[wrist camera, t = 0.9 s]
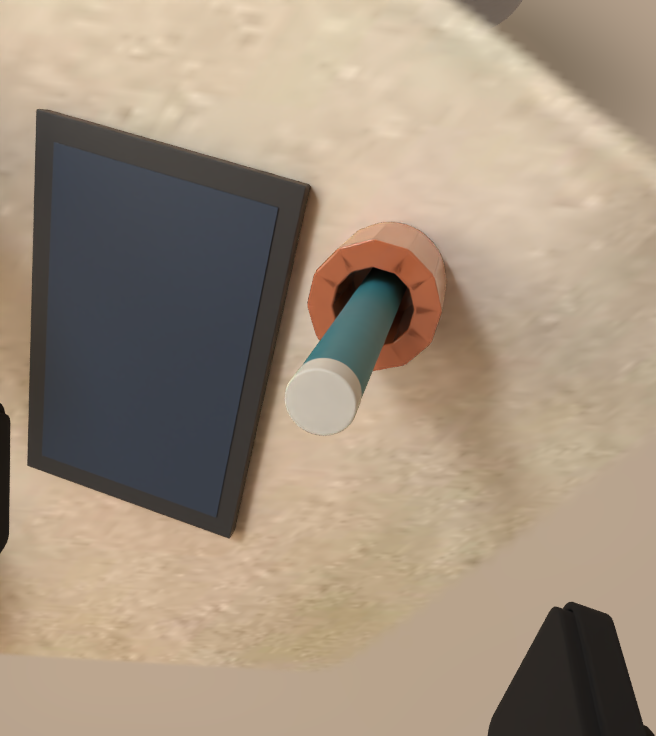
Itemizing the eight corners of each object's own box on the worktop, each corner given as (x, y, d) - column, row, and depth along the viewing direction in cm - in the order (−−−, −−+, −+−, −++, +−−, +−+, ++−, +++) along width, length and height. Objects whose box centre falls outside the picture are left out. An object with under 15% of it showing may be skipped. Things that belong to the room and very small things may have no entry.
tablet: (47, 109, 27) (35, 109, 26) (310, 184, 26) (305, 186, 25) (36, 458, 36) (26, 466, 35) (234, 530, 34) (229, 539, 33)
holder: (350, 208, 26) (325, 225, 21) (461, 240, 25) (458, 264, 21) (324, 312, 28) (296, 347, 23) (425, 343, 27) (416, 386, 23)
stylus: (373, 255, 26) (292, 358, 14) (413, 266, 26) (365, 382, 14) (362, 293, 27) (277, 423, 15) (401, 305, 26) (345, 446, 15)
